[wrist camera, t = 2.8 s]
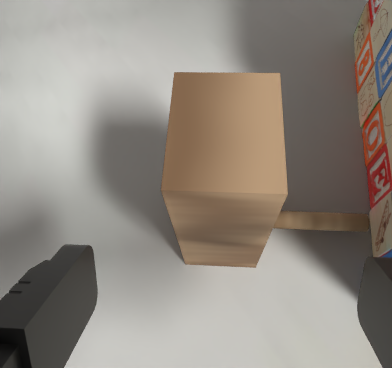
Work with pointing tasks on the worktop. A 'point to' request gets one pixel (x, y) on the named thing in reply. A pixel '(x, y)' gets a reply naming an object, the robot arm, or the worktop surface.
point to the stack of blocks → (376, 115)
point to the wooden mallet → (231, 169)
